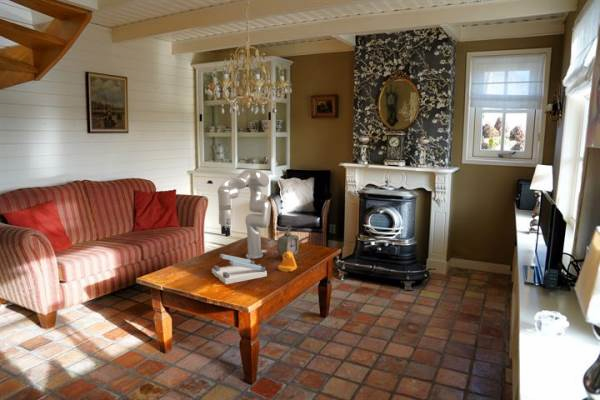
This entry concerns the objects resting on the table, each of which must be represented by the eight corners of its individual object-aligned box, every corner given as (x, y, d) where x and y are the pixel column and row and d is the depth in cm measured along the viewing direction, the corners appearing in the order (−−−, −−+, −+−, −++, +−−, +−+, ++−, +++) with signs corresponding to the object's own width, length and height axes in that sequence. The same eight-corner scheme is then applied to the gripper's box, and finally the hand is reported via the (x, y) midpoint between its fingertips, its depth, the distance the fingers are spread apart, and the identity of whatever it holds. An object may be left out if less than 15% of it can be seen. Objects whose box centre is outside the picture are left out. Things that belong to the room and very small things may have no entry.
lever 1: (249, 262, 308) (250, 259, 308) (252, 264, 304) (253, 261, 304) (219, 256, 297) (220, 253, 297) (222, 258, 292) (223, 255, 292)
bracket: (277, 270, 302) (276, 252, 300) (282, 267, 308) (282, 250, 306) (291, 272, 297) (291, 255, 295) (296, 269, 303) (296, 252, 301)
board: (251, 266, 311) (250, 257, 310) (266, 276, 291) (266, 267, 290) (211, 273, 297) (211, 264, 296) (225, 284, 277) (225, 274, 276)
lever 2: (259, 268, 295) (260, 266, 295) (262, 271, 291) (263, 268, 291) (229, 262, 283) (230, 259, 283) (232, 265, 279) (233, 261, 279)
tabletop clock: (286, 263, 317) (286, 228, 313) (276, 260, 323) (276, 226, 319) (299, 258, 329) (298, 224, 325) (289, 256, 334) (288, 222, 330)
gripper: (214, 206, 296) (215, 233, 299) (224, 210, 282) (225, 238, 285) (225, 205, 300) (226, 231, 303) (235, 209, 286) (236, 237, 289)
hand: (225, 234), depth 294 cm, fingers open, 6 cm apart
